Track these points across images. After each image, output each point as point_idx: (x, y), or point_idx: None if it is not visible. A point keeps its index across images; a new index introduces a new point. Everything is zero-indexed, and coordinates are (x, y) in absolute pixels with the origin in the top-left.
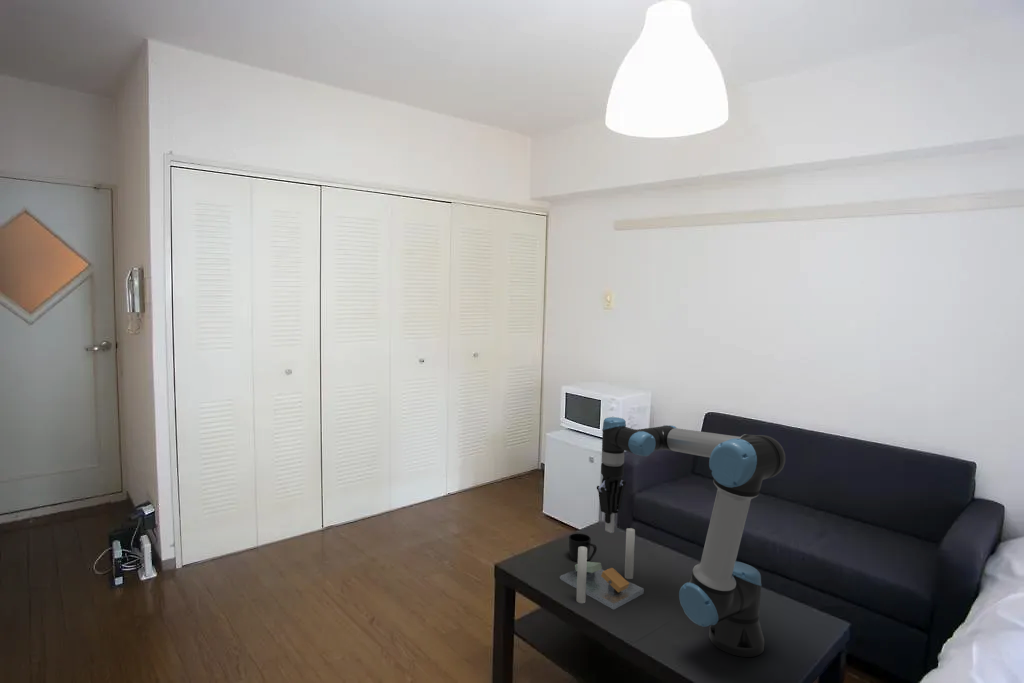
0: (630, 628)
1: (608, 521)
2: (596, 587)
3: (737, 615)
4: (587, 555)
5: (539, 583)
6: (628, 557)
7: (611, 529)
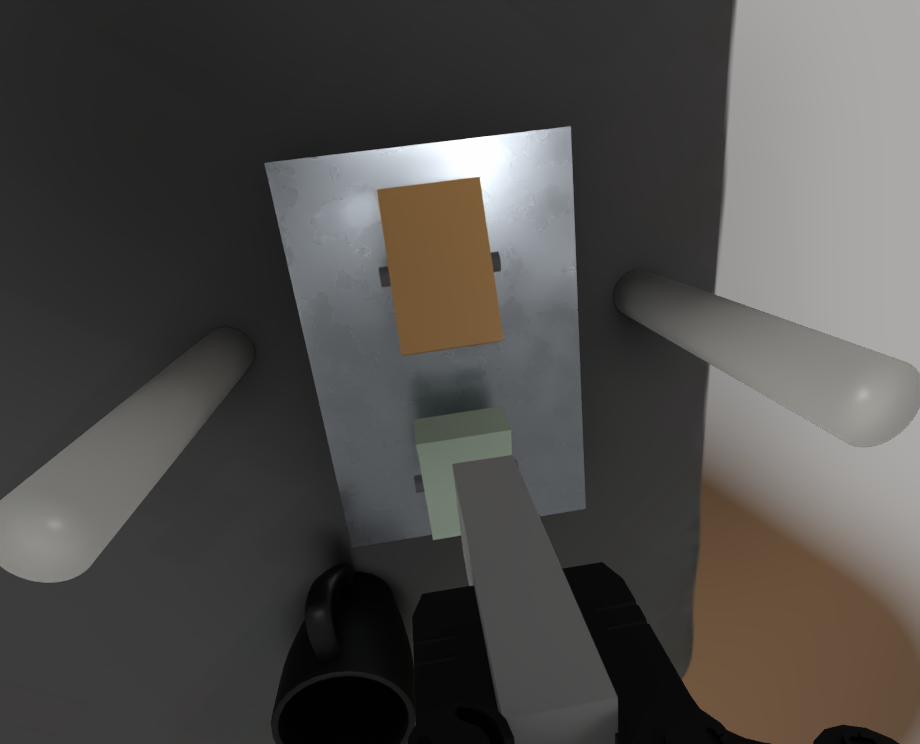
0: None
1: (615, 588)
2: (516, 327)
3: None
4: (333, 602)
5: (663, 516)
6: (200, 391)
7: (523, 481)
